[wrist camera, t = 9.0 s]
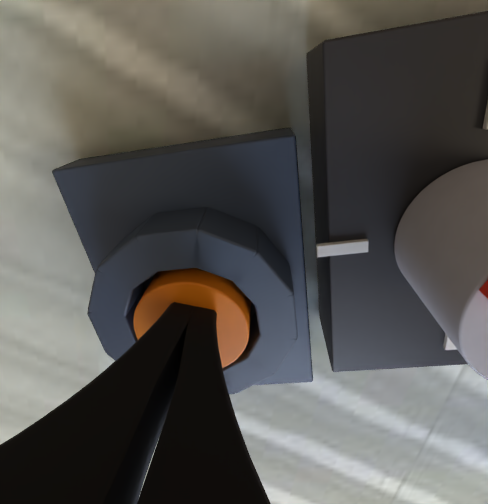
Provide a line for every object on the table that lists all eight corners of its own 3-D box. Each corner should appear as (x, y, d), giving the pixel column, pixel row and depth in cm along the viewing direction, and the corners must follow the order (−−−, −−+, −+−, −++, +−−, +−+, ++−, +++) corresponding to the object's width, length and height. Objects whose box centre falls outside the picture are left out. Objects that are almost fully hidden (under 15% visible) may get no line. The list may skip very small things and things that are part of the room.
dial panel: (294, 54, 10) (306, 42, 7) (602, 0, 9) (767, -41, 6) (311, 318, 14) (323, 376, 11) (514, 302, 13) (582, 362, 10)
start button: (137, 259, 11) (116, 288, 9) (243, 247, 10) (239, 276, 9) (165, 339, 12) (151, 376, 11) (257, 333, 12) (256, 369, 10)
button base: (78, 158, 11) (8, 186, 8) (291, 127, 10) (302, 145, 7) (155, 362, 16) (129, 430, 13) (308, 352, 15) (319, 422, 12)
